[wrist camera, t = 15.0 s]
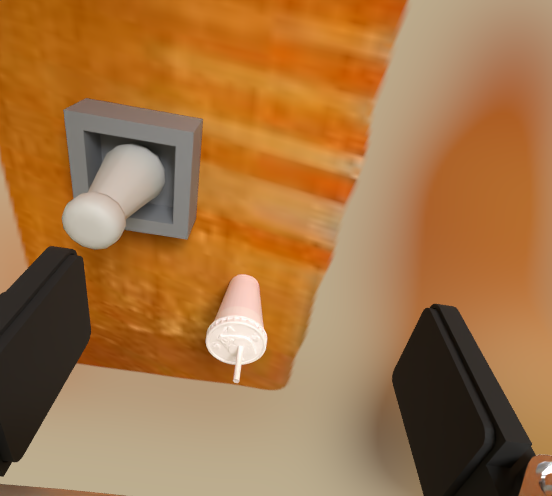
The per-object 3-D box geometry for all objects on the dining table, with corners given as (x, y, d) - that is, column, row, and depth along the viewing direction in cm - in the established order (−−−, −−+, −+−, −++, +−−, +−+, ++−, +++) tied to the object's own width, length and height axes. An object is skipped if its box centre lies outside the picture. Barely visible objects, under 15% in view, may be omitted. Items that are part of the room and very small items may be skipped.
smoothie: (253, 313, 51) (244, 408, 39) (209, 292, 49) (185, 385, 38) (279, 280, 48) (278, 372, 36) (233, 256, 46) (216, 345, 35)
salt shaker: (109, 181, 40) (44, 250, 30) (115, 128, 38) (45, 182, 27) (165, 198, 41) (123, 270, 30) (176, 147, 38) (132, 207, 27)
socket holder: (86, 98, 37) (63, 109, 33) (202, 119, 38) (193, 132, 34) (95, 202, 43) (76, 222, 39) (195, 218, 44) (187, 239, 40)
